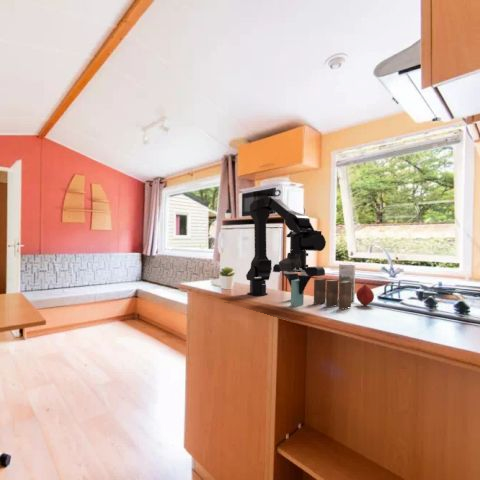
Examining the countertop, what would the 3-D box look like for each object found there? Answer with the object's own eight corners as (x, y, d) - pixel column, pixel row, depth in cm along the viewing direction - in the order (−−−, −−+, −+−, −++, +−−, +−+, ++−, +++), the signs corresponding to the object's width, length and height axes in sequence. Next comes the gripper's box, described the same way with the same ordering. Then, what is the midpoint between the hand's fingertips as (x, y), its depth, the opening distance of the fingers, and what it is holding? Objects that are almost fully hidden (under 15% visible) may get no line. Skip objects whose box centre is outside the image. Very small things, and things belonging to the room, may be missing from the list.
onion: (353, 304, 111) (353, 282, 111) (368, 304, 111) (368, 282, 111) (361, 307, 105) (361, 284, 105) (376, 307, 105) (377, 284, 106)
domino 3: (325, 305, 107) (326, 280, 107) (332, 304, 110) (333, 279, 110) (331, 306, 105) (331, 281, 105) (337, 305, 109) (338, 280, 109)
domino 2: (313, 303, 110) (314, 279, 110) (320, 302, 114) (321, 278, 114) (318, 304, 109) (319, 279, 109) (325, 302, 112) (325, 278, 112)
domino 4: (338, 308, 103) (339, 282, 103) (345, 306, 106) (346, 281, 107) (344, 309, 102) (344, 282, 102) (351, 307, 105) (351, 281, 105)
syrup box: (354, 299, 121) (355, 263, 121) (353, 301, 116) (354, 264, 116) (339, 298, 123) (340, 262, 124) (338, 300, 118) (338, 263, 118)
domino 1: (290, 305, 106) (291, 280, 106) (298, 304, 109) (299, 279, 109) (295, 306, 104) (295, 280, 104) (303, 304, 107) (303, 279, 108)
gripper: (263, 249, 108) (262, 292, 108) (307, 251, 95) (306, 300, 94) (282, 249, 116) (282, 289, 115) (326, 251, 102) (325, 296, 102)
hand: (297, 293), depth 107 cm, fingers open, 3 cm apart
